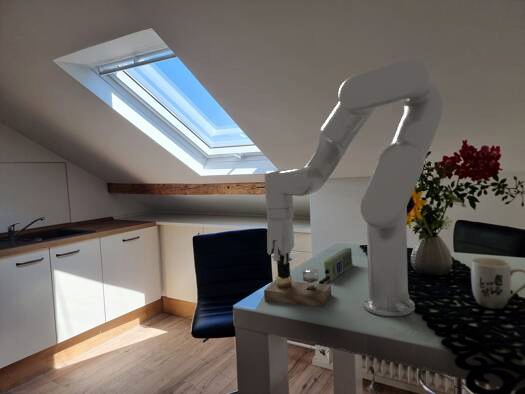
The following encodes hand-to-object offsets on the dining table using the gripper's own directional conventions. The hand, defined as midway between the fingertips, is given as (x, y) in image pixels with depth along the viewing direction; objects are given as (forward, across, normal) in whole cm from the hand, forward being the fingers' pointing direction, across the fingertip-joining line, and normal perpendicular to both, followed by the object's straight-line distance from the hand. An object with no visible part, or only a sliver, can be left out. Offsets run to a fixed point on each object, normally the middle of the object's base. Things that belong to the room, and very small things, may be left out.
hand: (284, 276), depth 106 cm
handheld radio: (+7, -23, +10) cm, 26 cm away
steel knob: (+3, 0, +8) cm, 9 cm away
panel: (+6, 0, +4) cm, 7 cm away
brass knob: (+6, 0, 0) cm, 6 cm away
